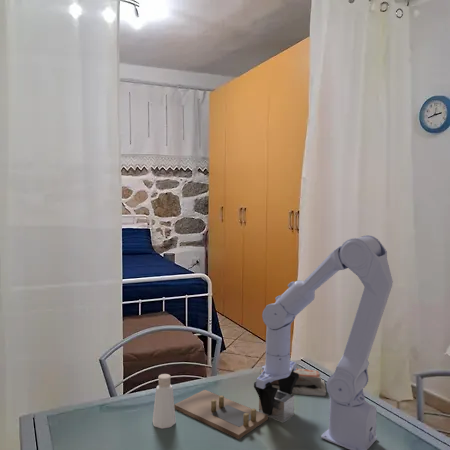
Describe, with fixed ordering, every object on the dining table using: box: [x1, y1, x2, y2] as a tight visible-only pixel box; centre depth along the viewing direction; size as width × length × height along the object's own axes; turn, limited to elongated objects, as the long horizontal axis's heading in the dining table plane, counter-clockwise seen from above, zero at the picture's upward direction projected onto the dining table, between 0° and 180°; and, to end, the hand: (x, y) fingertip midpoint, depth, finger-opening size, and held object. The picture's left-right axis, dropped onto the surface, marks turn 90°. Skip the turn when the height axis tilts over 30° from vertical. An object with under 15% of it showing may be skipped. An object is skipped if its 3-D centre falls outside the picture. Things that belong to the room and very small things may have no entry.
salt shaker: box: [152, 373, 177, 429], centre depth 100 cm, size 5×5×11 cm
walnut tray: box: [174, 389, 269, 440], centre depth 104 cm, size 20×11×4 cm, turn 50°
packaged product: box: [259, 367, 327, 397], centre depth 121 cm, size 18×5×10 cm
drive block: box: [258, 390, 295, 424], centre depth 105 cm, size 7×4×5 cm, turn 50°
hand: (276, 407), depth 105 cm, fingers open, 7 cm apart
